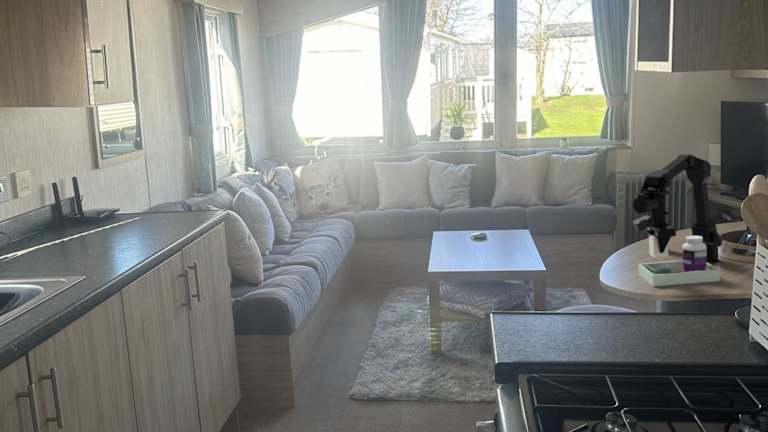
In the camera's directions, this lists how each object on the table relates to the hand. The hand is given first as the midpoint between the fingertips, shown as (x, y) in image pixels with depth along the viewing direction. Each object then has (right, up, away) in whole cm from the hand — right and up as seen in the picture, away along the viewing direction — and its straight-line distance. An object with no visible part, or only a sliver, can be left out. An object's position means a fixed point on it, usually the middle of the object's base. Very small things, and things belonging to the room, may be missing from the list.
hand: (658, 251), depth 269 cm
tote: (+7, -10, +2) cm, 12 cm away
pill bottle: (+13, -9, +1) cm, 16 cm away
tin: (+1, -10, +2) cm, 10 cm away
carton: (0, -1, 0) cm, 2 cm away
